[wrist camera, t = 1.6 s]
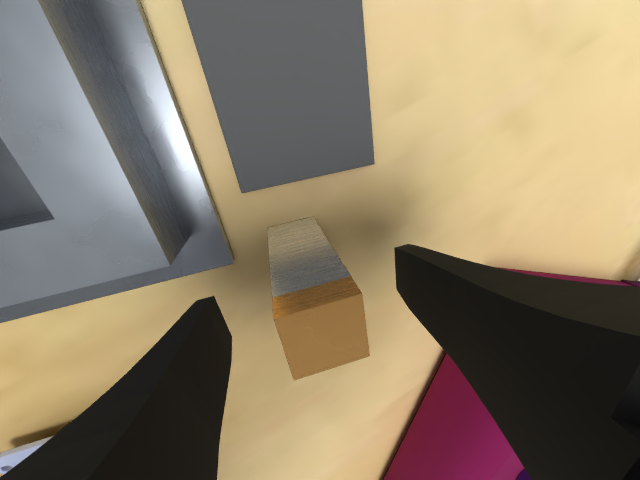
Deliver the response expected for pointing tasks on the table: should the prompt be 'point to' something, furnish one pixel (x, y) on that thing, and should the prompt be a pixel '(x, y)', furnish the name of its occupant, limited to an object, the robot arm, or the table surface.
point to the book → (461, 427)
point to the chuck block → (93, 160)
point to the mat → (286, 85)
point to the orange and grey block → (314, 300)
